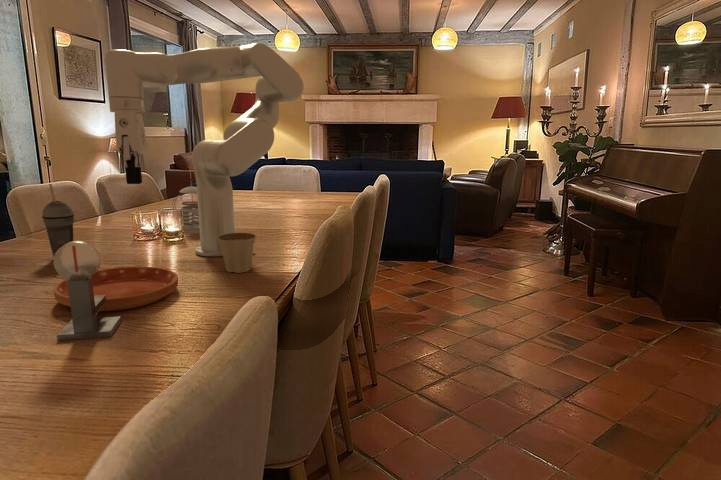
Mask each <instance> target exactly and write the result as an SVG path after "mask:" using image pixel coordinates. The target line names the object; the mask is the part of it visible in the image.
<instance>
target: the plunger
mask: <svg viewBox="0 0 721 480" xmlns="http://www.w3.org/2000/svg"><path fill="white" fill-rule="evenodd" d="M104 305H105V302H104V304H103V305H102V306H101V307H100V308H99V309H98V311H97V312H96V316H97V315H98V314H99V312H101V311H100V310H101V309H102V307H103V306H104Z"/></svg>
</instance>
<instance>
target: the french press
mask: <svg viewBox="0 0 721 480" xmlns="http://www.w3.org/2000/svg"><path fill="white" fill-rule="evenodd" d="M186 162H189V164H191V163H192V157H189V158H186ZM189 175H190V178H192V170H191V167H189ZM179 193H180V194H179V195H177V196H175V197H174V198H173V200H172V203H171V204H172V209H173V211H174V210H177V208H176V202H177V201H176V200H177V199H178V198H179V199H180V200H182V199H183V195H182V194H185V195H186V194H189V195H194V194H196V195H197V186H193V184H192V181H190V186H187V187H184V188H182V189H181V190H179ZM181 205H183V206H181V207H180V213H181V212H182V221H181V223H182V222H183V231H184V233H183V234H197V233H199V234H200V226H199V211H198V200H196V201H194V199H193V196H191V201H190V200H189V201H182V202H181Z"/></svg>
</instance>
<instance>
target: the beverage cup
mask: <svg viewBox="0 0 721 480" xmlns="http://www.w3.org/2000/svg"><path fill="white" fill-rule="evenodd" d="M48 185H49V189H50V193H51V197H52V201H50V202H48V203H46V204H45V206H44V208H43V209H42V216H41V217H42V219H43V220H42V221H43V223H44V226H45V228H46V232H47V237H48V241H49V246H50V249H51V254H52V256H53V258H54V255H55V253H56V251H57V250H58V249H59V248H60V247H62V246H63V245H65V244H67V243H69V242H72V241H74V223H75V214H74V211H73V209H72V207H71V206H70V205H69V204H68V203H67V202H65V201H62V200H56V197H55V193H54V189H53V185H52V183H49V184H48Z"/></svg>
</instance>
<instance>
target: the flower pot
mask: <svg viewBox="0 0 721 480" xmlns="http://www.w3.org/2000/svg"><path fill="white" fill-rule="evenodd" d="M256 238H257V235H256V234H255V233H251V232H235V233H228V234H223V235H220V236H218V237H217V239H218V240H219V244H220V245H221V248H222V253H223V256H222V257H223V262H224V266H225V271H226V272H227V273H235V274H241V273H246V272H249V271H250V270H252V268H253V267H252V265H253V257H254V256H253V254H254V245H255V243H256Z"/></svg>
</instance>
